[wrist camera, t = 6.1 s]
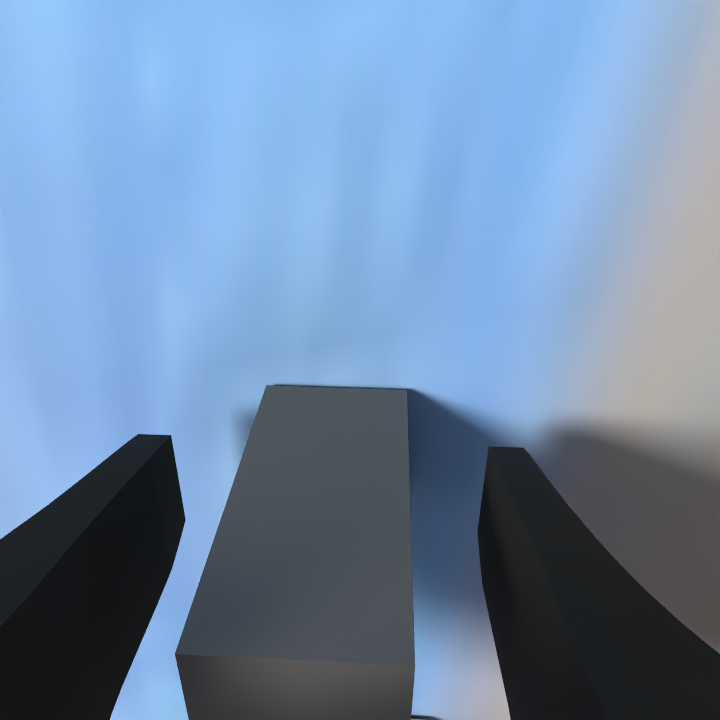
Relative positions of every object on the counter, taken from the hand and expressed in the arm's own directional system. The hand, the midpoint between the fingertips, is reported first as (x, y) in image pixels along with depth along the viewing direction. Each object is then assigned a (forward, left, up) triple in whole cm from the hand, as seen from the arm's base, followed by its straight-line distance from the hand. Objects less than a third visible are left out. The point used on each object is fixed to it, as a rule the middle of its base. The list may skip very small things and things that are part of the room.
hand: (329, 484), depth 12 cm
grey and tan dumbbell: (0, +7, -2) cm, 7 cm away
